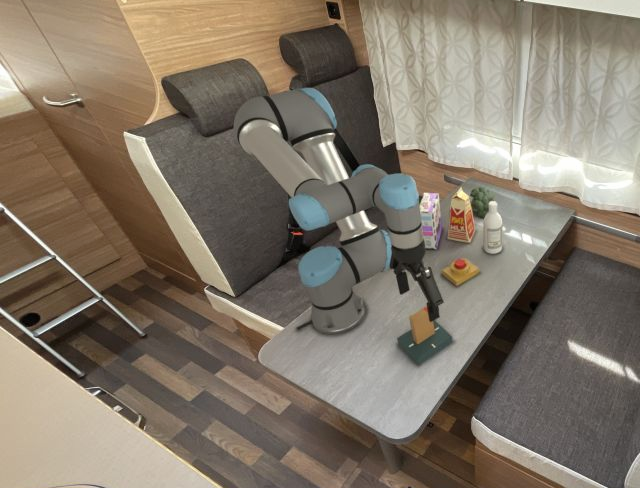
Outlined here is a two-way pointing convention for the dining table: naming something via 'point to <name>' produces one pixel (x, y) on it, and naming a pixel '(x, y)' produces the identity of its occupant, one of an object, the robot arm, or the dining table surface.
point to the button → (460, 264)
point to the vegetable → (481, 200)
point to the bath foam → (492, 230)
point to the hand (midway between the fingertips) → (419, 305)
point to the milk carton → (461, 218)
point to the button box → (460, 272)
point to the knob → (421, 325)
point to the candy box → (431, 219)
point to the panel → (425, 344)
